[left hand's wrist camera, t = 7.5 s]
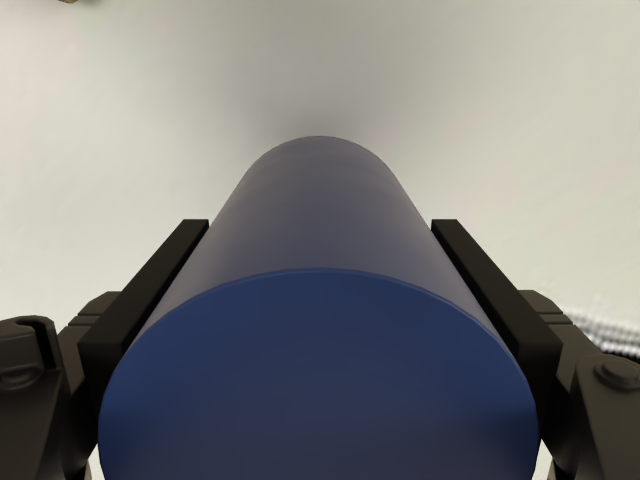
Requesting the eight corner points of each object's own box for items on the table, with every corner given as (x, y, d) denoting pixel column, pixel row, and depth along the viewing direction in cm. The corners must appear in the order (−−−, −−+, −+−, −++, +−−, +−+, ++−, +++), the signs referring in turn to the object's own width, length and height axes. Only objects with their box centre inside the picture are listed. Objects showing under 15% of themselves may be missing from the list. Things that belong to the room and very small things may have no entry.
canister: (346, 329, 19) (377, 648, 9) (200, 253, 18) (35, 519, 7) (443, 196, 17) (637, 408, 7) (285, 98, 16) (219, 170, 5)
